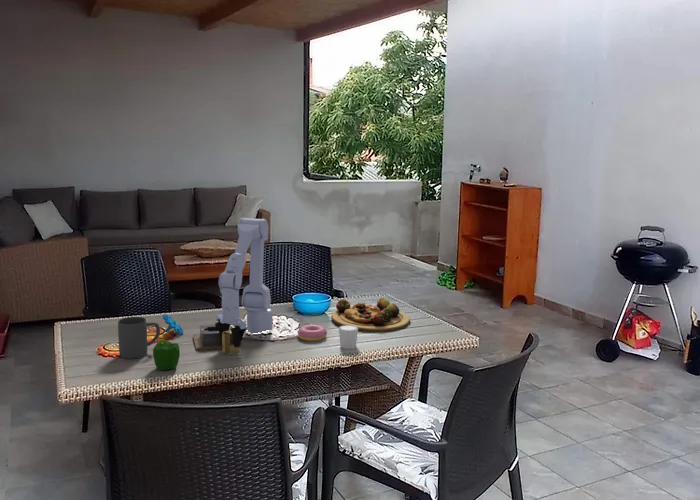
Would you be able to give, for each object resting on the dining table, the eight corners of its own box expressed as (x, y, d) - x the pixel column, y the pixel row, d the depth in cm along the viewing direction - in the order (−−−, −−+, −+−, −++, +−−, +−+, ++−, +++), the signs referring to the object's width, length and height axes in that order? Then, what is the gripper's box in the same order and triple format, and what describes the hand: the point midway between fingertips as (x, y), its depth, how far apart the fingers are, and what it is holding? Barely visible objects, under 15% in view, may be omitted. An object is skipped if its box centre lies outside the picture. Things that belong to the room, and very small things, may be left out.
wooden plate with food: (314, 321, 263) (315, 301, 261) (364, 305, 287) (365, 287, 285) (376, 340, 243) (377, 319, 241) (424, 321, 267) (426, 302, 265)
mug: (122, 361, 213) (120, 325, 211) (116, 352, 221) (115, 318, 219) (164, 354, 220) (163, 320, 218) (157, 346, 228) (155, 313, 226)
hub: (234, 334, 243) (234, 321, 242) (239, 347, 229) (239, 333, 228) (193, 337, 239) (192, 324, 238) (196, 350, 225) (196, 336, 224)
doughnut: (307, 331, 249) (307, 321, 248) (332, 336, 244) (332, 325, 243) (291, 339, 239) (291, 328, 239) (317, 344, 234) (317, 333, 234)
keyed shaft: (232, 348, 228) (232, 328, 226) (239, 351, 225) (239, 331, 224) (220, 351, 224) (219, 332, 223) (227, 354, 221) (226, 334, 220)
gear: (182, 333, 237) (162, 314, 236) (170, 345, 237) (150, 326, 236) (187, 328, 248) (168, 310, 247) (176, 339, 248) (157, 321, 247)
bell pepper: (175, 361, 214) (174, 332, 212) (183, 369, 207) (182, 339, 205) (149, 366, 209) (148, 336, 207) (157, 374, 202) (156, 343, 200)
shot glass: (344, 350, 228) (344, 331, 227) (335, 344, 234) (335, 326, 233) (361, 347, 231) (361, 329, 230) (352, 342, 237) (352, 323, 236)
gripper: (208, 304, 224) (208, 342, 226) (234, 312, 214) (234, 352, 217) (224, 300, 229) (225, 337, 231) (251, 308, 219) (251, 347, 222)
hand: (231, 344), depth 224 cm, fingers open, 6 cm apart
